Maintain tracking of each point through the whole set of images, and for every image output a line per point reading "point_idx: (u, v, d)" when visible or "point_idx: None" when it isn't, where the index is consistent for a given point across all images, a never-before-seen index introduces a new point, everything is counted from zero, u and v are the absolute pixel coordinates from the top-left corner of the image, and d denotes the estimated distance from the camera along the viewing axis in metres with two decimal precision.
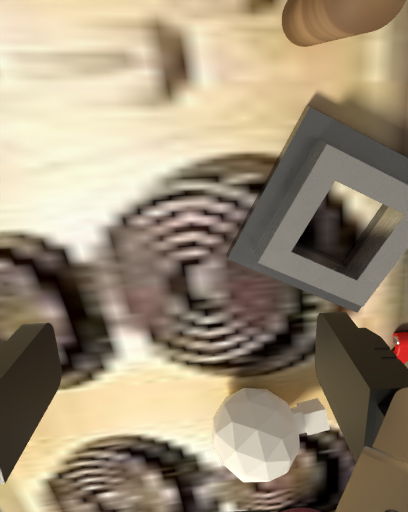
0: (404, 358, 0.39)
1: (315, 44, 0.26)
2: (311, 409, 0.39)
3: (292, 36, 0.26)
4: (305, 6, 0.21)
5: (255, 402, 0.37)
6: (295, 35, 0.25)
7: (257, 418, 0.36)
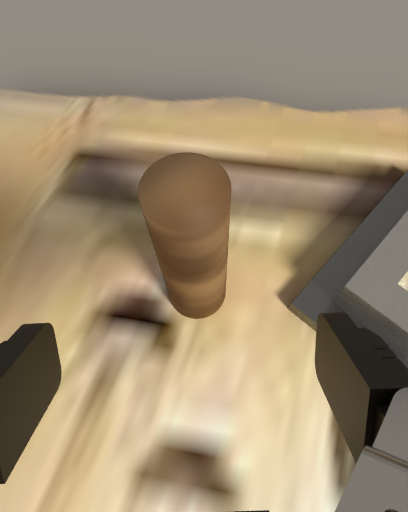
0: None
1: (225, 283, 0.22)
2: None
3: (209, 307, 0.22)
4: (182, 275, 0.18)
5: None
6: (209, 302, 0.22)
7: None
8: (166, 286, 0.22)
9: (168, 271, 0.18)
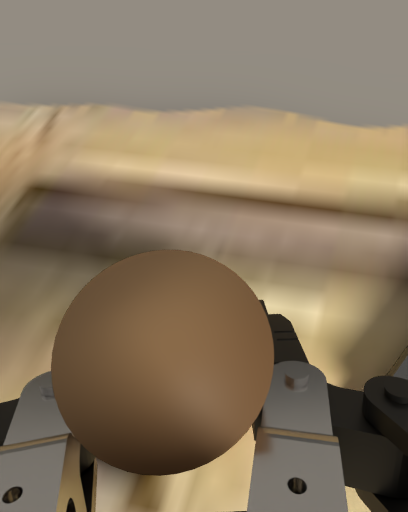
0: None
1: None
2: None
3: None
4: None
5: None
6: None
7: None
8: None
9: None
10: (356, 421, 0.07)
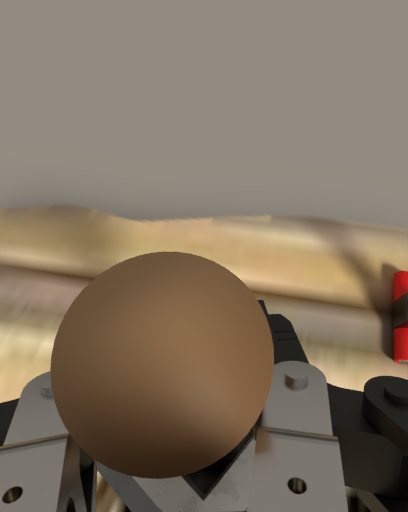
0: None
1: None
2: None
3: None
4: None
5: None
6: None
7: None
8: None
9: None
10: (356, 421, 0.07)
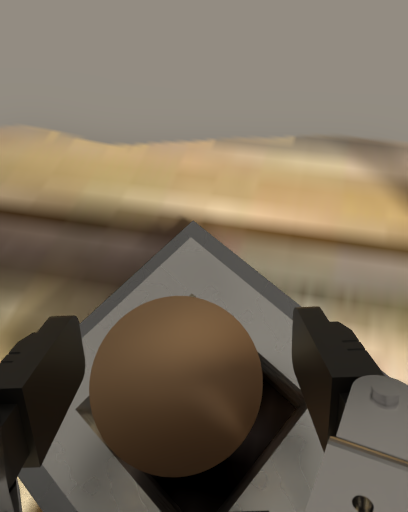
0: None
1: None
2: None
3: None
4: None
5: None
6: None
7: None
8: None
9: None
10: None
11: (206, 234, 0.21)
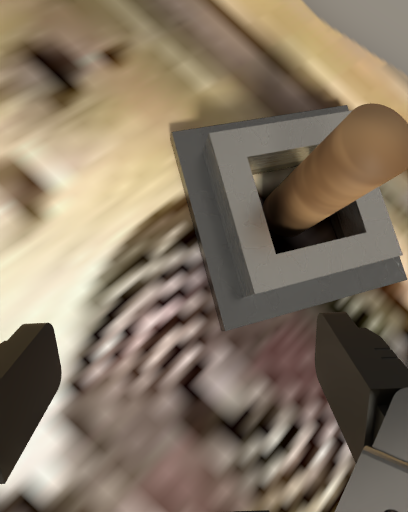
0: None
1: None
2: None
3: (293, 231, 0.26)
4: (311, 198, 0.21)
5: None
6: (299, 227, 0.25)
7: None
8: (275, 195, 0.25)
9: (302, 187, 0.21)
10: None
11: None
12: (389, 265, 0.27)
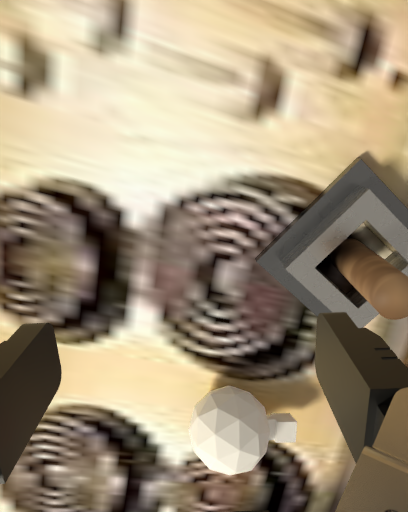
0: None
1: None
2: (284, 419, 0.43)
3: (336, 267, 0.39)
4: (355, 274, 0.34)
5: (241, 397, 0.41)
6: (339, 270, 0.38)
7: (241, 410, 0.39)
8: (352, 246, 0.37)
9: (358, 265, 0.34)
10: None
11: None
12: None
